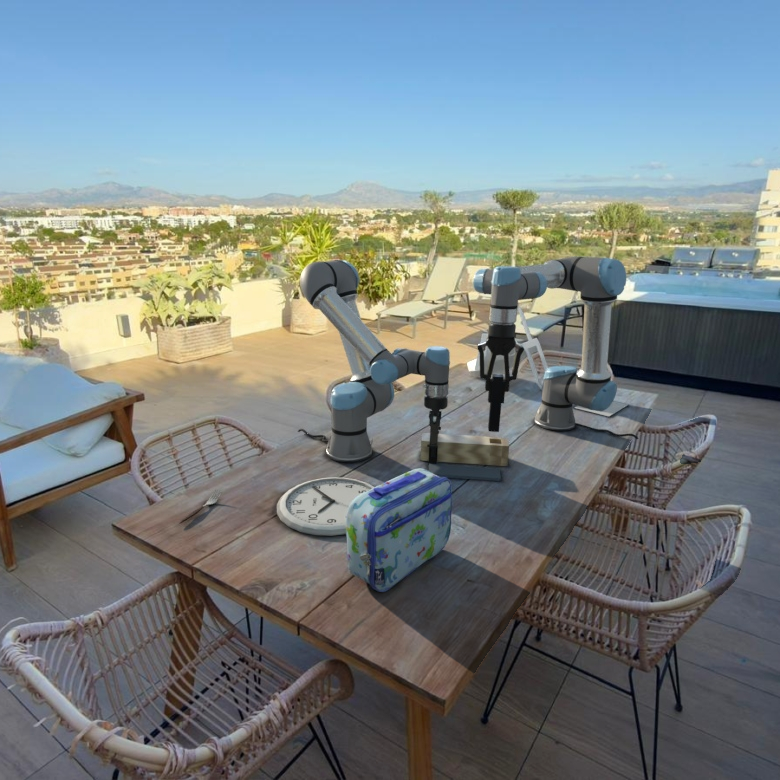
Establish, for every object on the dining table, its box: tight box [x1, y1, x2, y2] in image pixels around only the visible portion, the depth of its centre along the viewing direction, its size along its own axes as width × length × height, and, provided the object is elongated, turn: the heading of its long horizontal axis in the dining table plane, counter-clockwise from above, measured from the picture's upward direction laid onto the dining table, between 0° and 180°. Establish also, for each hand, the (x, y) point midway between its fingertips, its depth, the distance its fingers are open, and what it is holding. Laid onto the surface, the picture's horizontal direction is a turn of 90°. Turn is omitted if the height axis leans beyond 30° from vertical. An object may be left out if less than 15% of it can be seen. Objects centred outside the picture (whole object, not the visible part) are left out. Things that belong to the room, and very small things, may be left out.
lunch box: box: [345, 467, 453, 593], centre depth 115 cm, size 26×11×21 cm, turn 135°
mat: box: [428, 463, 502, 482], centre depth 162 cm, size 22×7×1 cm, turn 83°
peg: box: [487, 374, 505, 433], centre depth 155 cm, size 3×3×17 cm
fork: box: [178, 489, 223, 525], centre depth 139 cm, size 3×16×2 cm, turn 160°
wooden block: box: [420, 432, 510, 467], centre depth 172 cm, size 28×7×7 cm, turn 83°
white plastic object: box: [466, 306, 549, 390], centre depth 259 cm, size 37×45×31 cm
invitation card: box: [573, 400, 629, 418], centre depth 226 cm, size 21×1×15 cm
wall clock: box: [276, 476, 376, 537], centre depth 142 cm, size 30×2×30 cm
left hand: (433, 456), depth 174 cm, fingers open, 12 cm apart
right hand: (495, 401), depth 154 cm, fingers closed on peg, 3 cm apart
